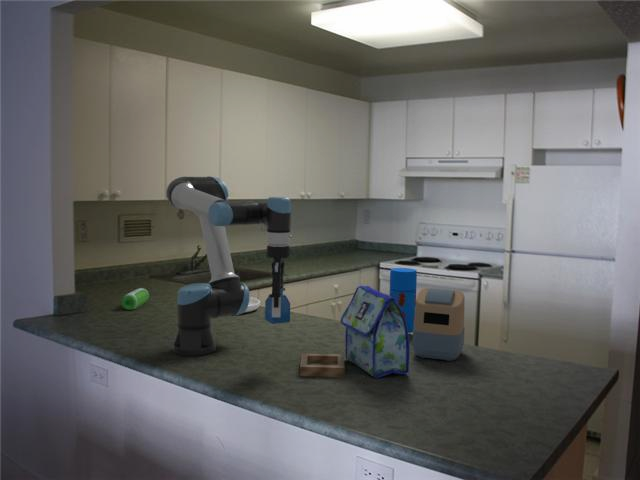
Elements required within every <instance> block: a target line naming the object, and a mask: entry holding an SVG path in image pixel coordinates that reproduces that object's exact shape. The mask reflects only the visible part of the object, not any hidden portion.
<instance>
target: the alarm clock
mask: <svg viewBox="0 0 640 480" xmlns="http://www.w3.org/2000/svg"><path fill="white" fill-rule="evenodd" d="M464 345H465V294H464V293H463V292H462V291H460V290H456V289H447V288H446V289H445V288H436V287H429V288H428V287H426V288H423V289H421V290H420V291H418V294H417V295H416V306H415V320H414V329H413V332H412V348H413V353H414V354H415V355H416V356H417V357H420V358H422V359H424V358H426V359H436V360H441V361H446V362H453V361H456V360H457V359H458V358H459V357H460V354H461V352H462V350H463V348H464Z"/></svg>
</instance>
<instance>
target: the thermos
mask: <svg viewBox="0 0 640 480" xmlns="http://www.w3.org/2000/svg"><path fill="white" fill-rule="evenodd" d="M417 272H418V271H417V269H414V268H410V267H393V268H391V269H390V271H389V294H388V295H389V296H391V297H393V298H394V299H395V300H396V302H397V304H398V306H399V307H400V309H401V311H402V313H403V315H404V318H405V321H406V324H407V329H408V334H409V333H413V329H414V320H415V306H416V299H417V282H418V281H417V280H418V279H417V277H418V275H417V274H418V273H417Z"/></svg>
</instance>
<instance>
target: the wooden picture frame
mask: <svg viewBox="0 0 640 480" xmlns="http://www.w3.org/2000/svg"><path fill="white" fill-rule="evenodd" d="M344 356H345V355H344V354H338V353H337V354H336V353H301V359H300V366H299V376H300V377H322V378H323V377H324V378H325V377H329V378H333V377H335V378H345V371H346V370H345V357H344Z"/></svg>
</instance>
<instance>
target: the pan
mask: <svg viewBox="0 0 640 480" xmlns="http://www.w3.org/2000/svg"><path fill="white" fill-rule="evenodd" d="M260 305H261V301H260V300H259V299H258V298H256V297H252V296H250V300H249V305H248V307H247V309H246V311H245V312H244V313H243V314H247V313H252V312H253V311H255V310H257V309H258V308H260Z"/></svg>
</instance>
